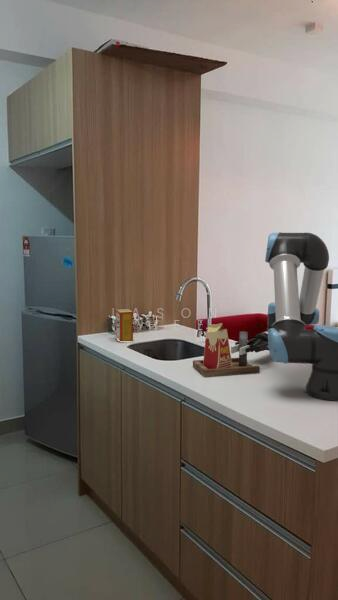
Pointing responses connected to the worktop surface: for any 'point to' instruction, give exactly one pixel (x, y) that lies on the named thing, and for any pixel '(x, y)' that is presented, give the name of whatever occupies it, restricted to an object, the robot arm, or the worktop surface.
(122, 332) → the baking soda box
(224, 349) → the milk carton
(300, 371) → the worktop surface
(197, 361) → the wooden tray
